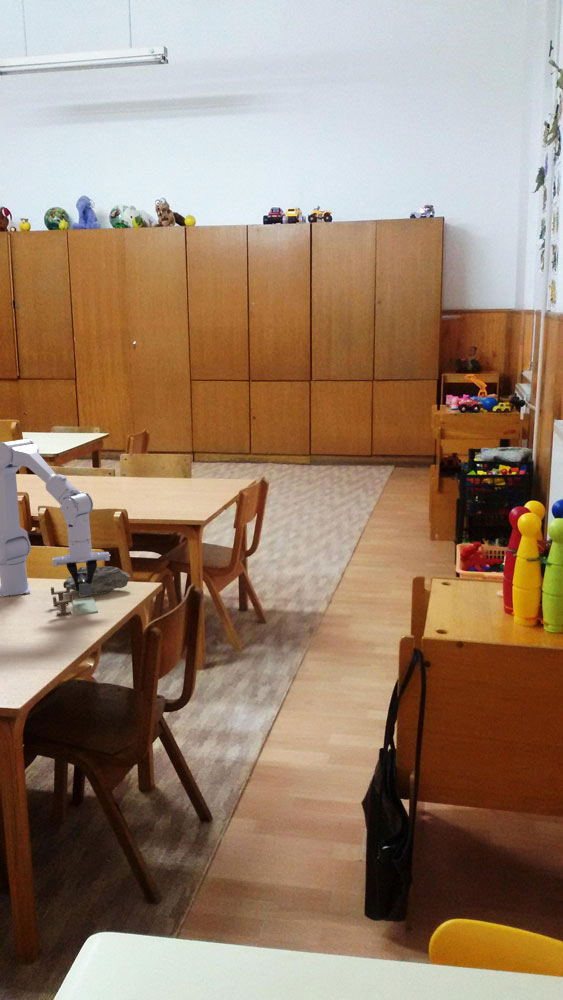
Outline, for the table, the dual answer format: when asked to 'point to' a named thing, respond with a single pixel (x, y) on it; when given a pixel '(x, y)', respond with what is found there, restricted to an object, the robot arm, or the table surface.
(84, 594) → the column with square cap
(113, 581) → the rock
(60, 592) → the rail stand
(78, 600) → the mat
